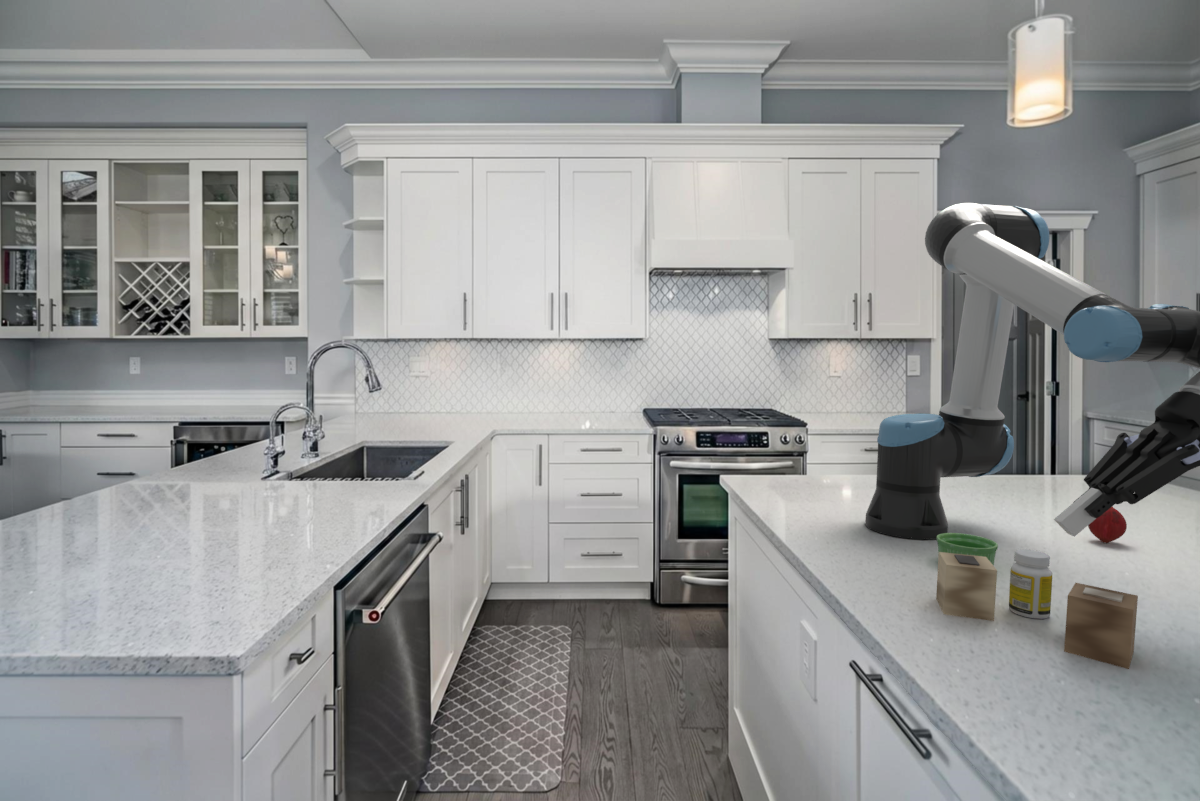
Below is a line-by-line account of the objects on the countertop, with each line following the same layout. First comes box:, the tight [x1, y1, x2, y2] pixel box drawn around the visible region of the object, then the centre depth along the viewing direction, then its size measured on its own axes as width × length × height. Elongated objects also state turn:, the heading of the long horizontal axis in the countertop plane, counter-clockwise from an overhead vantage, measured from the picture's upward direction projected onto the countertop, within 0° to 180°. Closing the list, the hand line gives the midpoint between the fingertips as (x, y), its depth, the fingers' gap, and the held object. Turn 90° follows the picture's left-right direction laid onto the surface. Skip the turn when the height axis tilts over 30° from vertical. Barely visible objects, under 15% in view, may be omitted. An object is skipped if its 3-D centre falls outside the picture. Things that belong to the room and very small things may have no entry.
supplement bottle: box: [1008, 548, 1053, 620], centre depth 87 cm, size 5×5×8 cm
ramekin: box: [936, 532, 999, 567], centre depth 107 cm, size 9×9×4 cm
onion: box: [1087, 506, 1128, 544], centre depth 120 cm, size 6×6×8 cm
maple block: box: [935, 552, 998, 622], centre depth 88 cm, size 6×6×7 cm
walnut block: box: [1063, 582, 1139, 670], centre depth 75 cm, size 6×6×7 cm
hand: (1064, 527), depth 86 cm, fingers closed
